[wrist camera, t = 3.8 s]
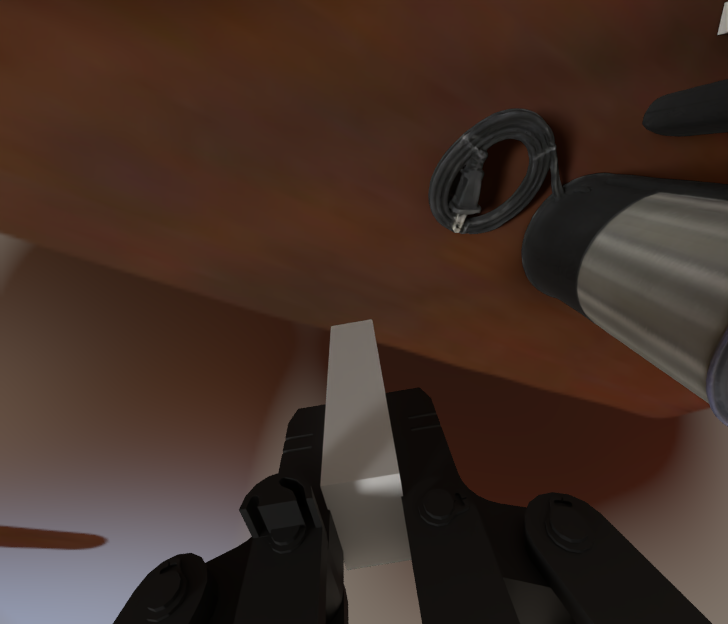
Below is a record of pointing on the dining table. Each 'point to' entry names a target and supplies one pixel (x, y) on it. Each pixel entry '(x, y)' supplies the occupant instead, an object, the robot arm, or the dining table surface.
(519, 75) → the dining table surface
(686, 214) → the milk frother
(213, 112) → the dining table surface
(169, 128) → the dining table surface
